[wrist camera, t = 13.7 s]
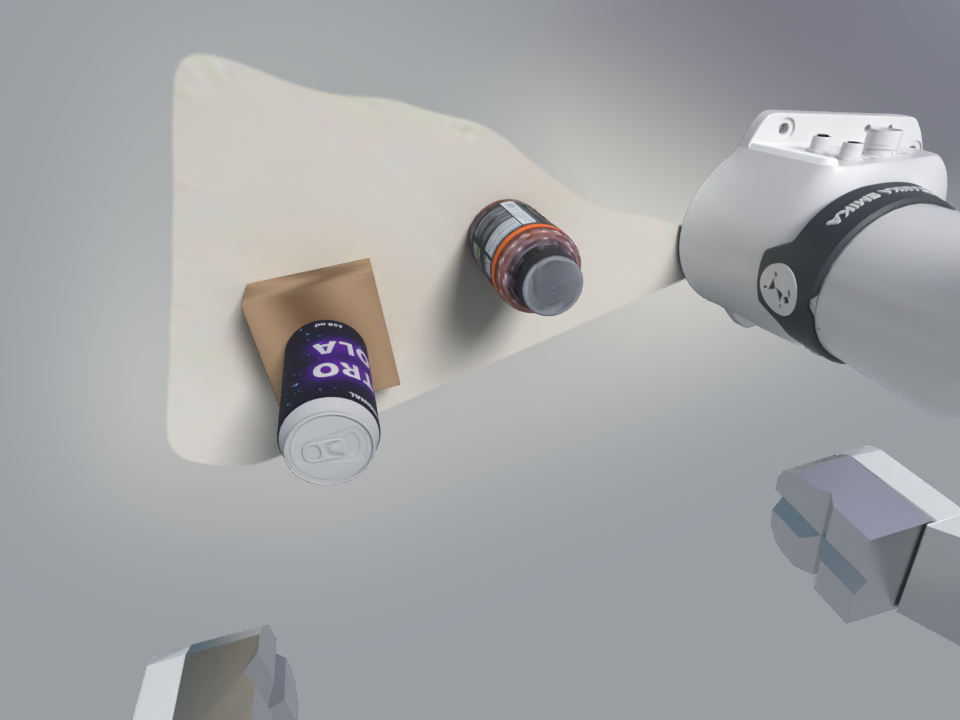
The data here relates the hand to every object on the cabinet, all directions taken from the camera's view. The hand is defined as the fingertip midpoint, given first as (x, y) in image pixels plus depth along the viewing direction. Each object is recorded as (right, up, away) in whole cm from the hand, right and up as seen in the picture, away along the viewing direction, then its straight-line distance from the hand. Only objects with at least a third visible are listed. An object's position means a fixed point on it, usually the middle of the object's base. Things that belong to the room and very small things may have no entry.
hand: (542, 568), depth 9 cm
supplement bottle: (+1, +13, +37) cm, 39 cm away
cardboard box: (-13, +6, +37) cm, 39 cm away
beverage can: (-12, +4, +34) cm, 36 cm away
